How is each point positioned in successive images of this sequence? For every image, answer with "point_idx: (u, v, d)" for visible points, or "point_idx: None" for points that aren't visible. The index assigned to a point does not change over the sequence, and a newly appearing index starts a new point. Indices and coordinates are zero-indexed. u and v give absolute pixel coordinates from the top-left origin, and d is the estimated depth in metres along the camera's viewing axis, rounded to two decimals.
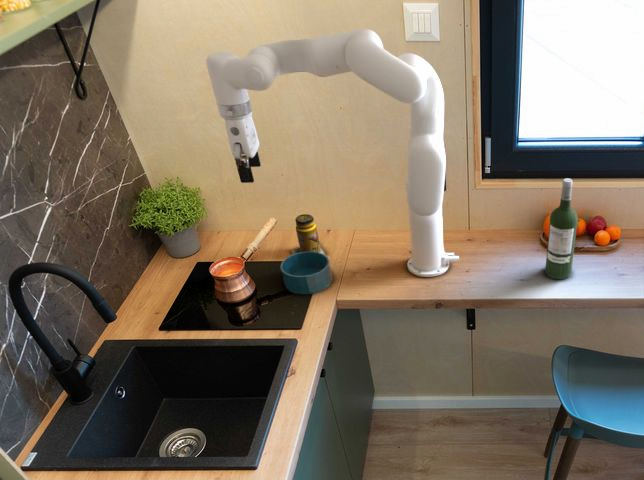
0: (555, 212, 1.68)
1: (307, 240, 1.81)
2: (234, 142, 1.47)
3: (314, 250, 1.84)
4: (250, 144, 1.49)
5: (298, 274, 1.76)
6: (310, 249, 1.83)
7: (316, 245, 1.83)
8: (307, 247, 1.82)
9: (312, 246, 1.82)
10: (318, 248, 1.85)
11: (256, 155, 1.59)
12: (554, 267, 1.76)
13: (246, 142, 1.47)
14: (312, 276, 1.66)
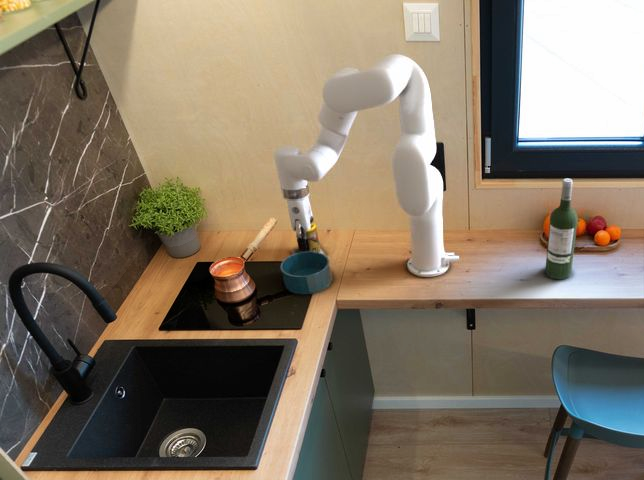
0: (555, 212, 1.68)
1: None
2: (294, 219, 1.73)
3: (314, 250, 1.84)
4: (307, 219, 1.75)
5: (298, 274, 1.76)
6: None
7: (316, 246, 1.83)
8: None
9: (312, 246, 1.82)
10: (317, 249, 1.84)
11: None
12: (554, 267, 1.76)
13: (304, 219, 1.74)
14: (312, 276, 1.66)
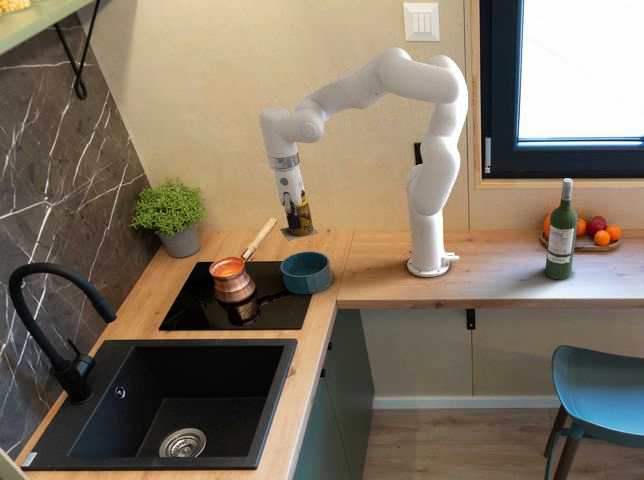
0: (555, 212, 1.68)
1: None
2: (283, 192, 1.53)
3: (306, 229, 1.63)
4: (298, 193, 1.55)
5: (298, 274, 1.76)
6: (301, 227, 1.62)
7: (308, 223, 1.63)
8: None
9: (303, 224, 1.62)
10: (310, 227, 1.64)
11: None
12: (554, 267, 1.76)
13: (294, 191, 1.53)
14: (312, 276, 1.66)
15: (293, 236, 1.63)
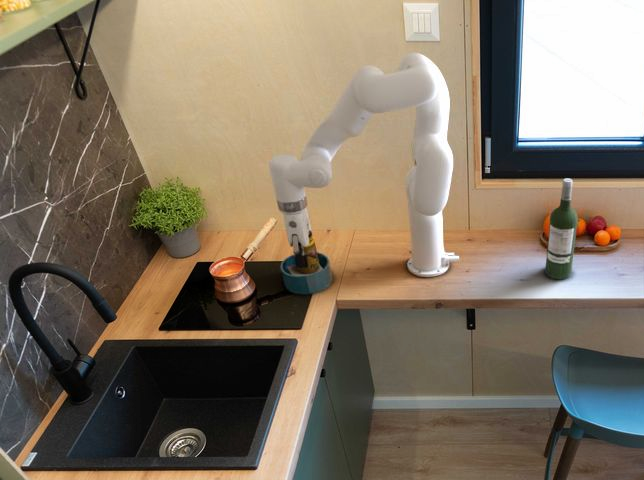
0: (555, 212, 1.68)
1: None
2: (291, 234, 1.59)
3: (312, 267, 1.69)
4: (306, 234, 1.61)
5: None
6: (308, 266, 1.68)
7: (314, 262, 1.69)
8: None
9: (310, 262, 1.67)
10: (316, 265, 1.70)
11: None
12: (554, 267, 1.76)
13: (302, 233, 1.59)
14: (312, 276, 1.66)
15: (300, 274, 1.69)
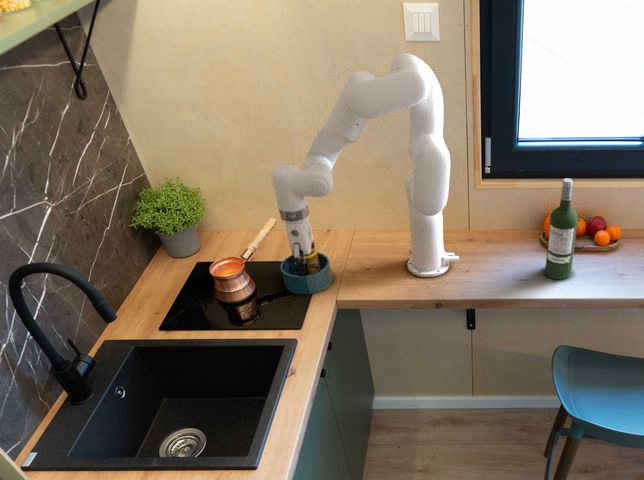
0: (555, 212, 1.68)
1: None
2: (293, 242, 1.60)
3: None
4: (308, 242, 1.62)
5: None
6: None
7: None
8: None
9: (312, 273, 1.70)
10: None
11: None
12: (554, 267, 1.76)
13: (304, 242, 1.61)
14: (312, 276, 1.66)
15: None
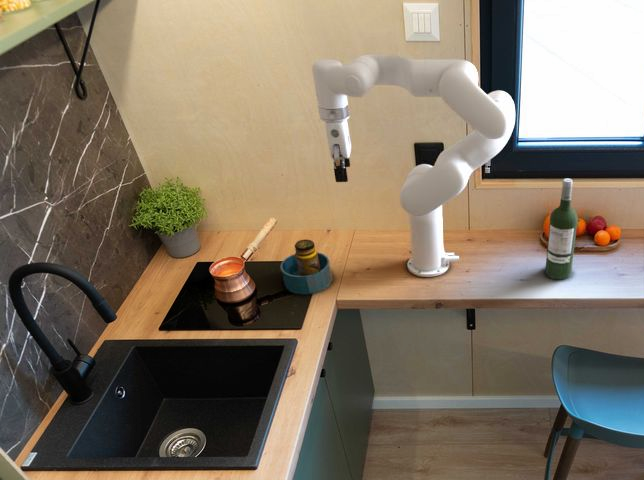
0: (555, 212, 1.68)
1: (307, 268, 1.68)
2: (333, 144, 1.55)
3: None
4: (347, 145, 1.57)
5: (298, 274, 1.76)
6: None
7: None
8: (307, 274, 1.69)
9: (312, 273, 1.70)
10: None
11: None
12: (554, 267, 1.76)
13: (344, 144, 1.55)
14: (312, 276, 1.66)
15: None
